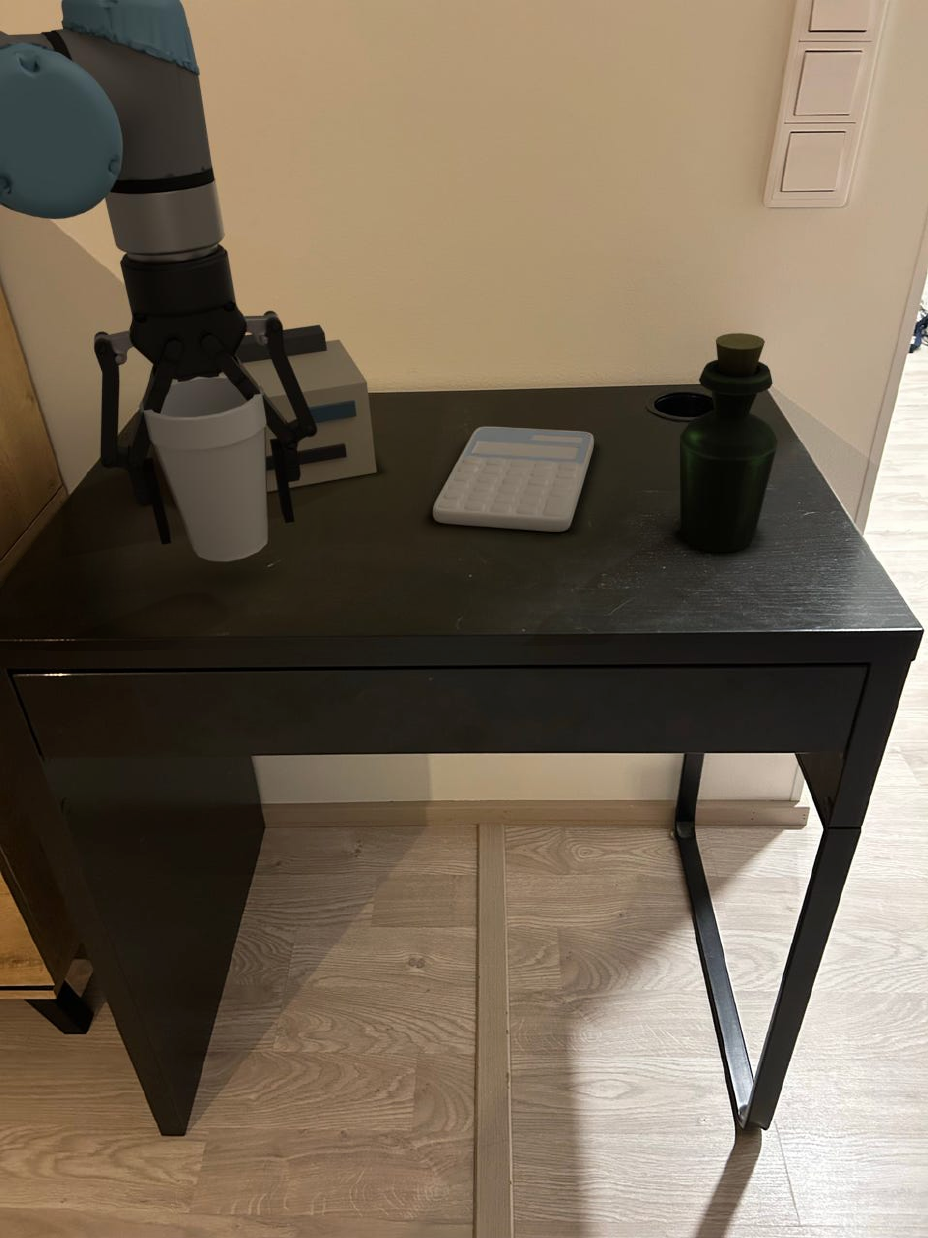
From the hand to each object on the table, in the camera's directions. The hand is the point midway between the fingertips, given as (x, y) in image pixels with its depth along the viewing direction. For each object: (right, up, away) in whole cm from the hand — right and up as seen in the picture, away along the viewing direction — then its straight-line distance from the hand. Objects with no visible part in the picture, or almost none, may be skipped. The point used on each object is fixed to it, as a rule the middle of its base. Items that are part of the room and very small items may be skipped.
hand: (227, 525), depth 80 cm
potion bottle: (+43, 0, +7) cm, 43 cm away
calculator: (+26, +6, +17) cm, 31 cm away
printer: (-1, +9, +24) cm, 26 cm away
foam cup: (0, -1, +1) cm, 2 cm away
